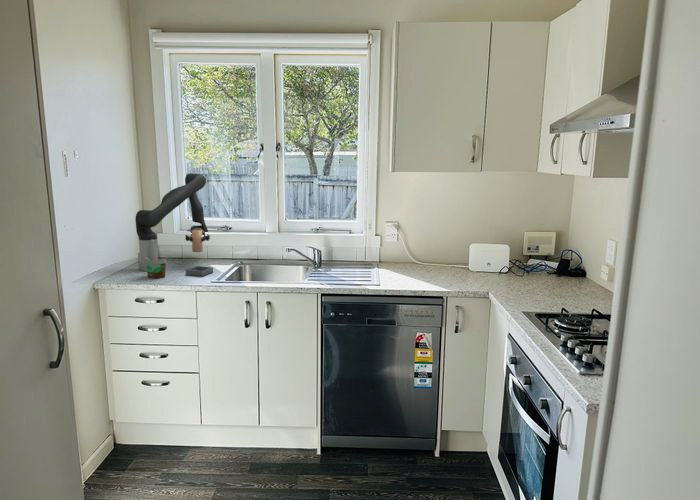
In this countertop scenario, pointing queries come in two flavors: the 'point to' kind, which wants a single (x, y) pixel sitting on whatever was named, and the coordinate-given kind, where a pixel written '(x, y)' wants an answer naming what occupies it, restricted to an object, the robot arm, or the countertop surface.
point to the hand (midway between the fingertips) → (197, 239)
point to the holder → (199, 271)
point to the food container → (155, 268)
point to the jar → (197, 241)
